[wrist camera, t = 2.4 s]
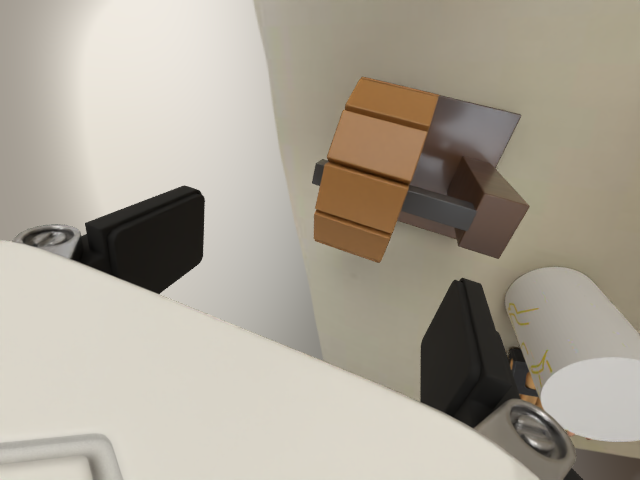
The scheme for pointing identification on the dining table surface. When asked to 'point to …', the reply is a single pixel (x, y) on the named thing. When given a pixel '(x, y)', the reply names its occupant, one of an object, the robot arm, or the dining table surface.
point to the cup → (578, 353)
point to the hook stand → (463, 178)
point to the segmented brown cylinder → (371, 166)
